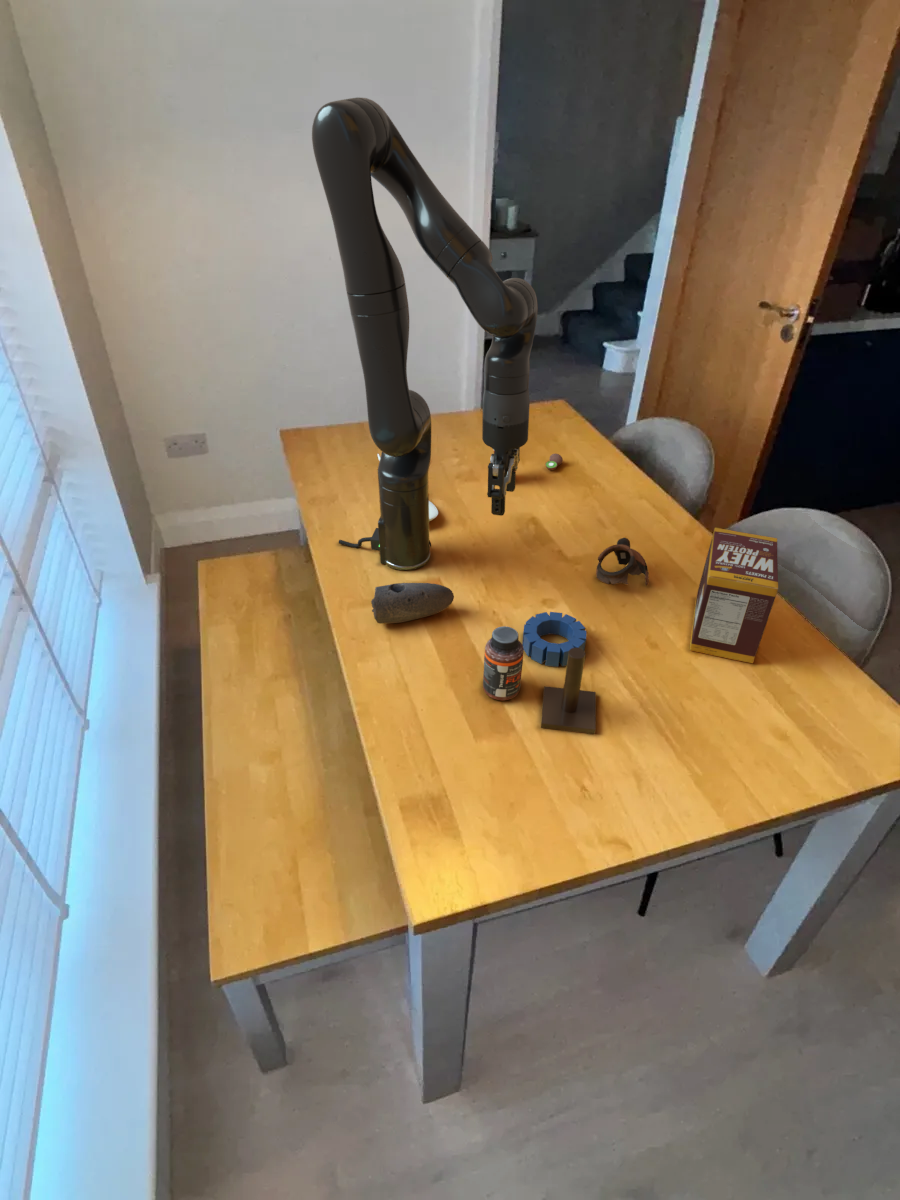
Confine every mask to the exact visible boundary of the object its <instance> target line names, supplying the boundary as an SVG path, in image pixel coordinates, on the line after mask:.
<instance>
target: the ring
mask: <svg viewBox="0 0 900 1200" xmlns="http://www.w3.org/2000/svg"><path fill="white" fill-rule="evenodd" d="M547 635H558V636H561V637H563V638H565V639H566V640H567V641H564V642H560V643H557V642H549V641H547V640H544V639H543V638H541V637H542V636H547ZM521 644H522V645H523V649H524V653H525V654H526V656H527V657H530V659H531V660H532V661H534V662H536V663H537V664H541V665H543V664H544V663H545V667H556V668H559V665H560V666H561V667H567V660H568V653H569V650H570V649H572V648H581V649H583V650H584V651H585V650H586V644H587V630H586V626H585V625H583V623H582V622H581V620H577V618H576V617H573V616H571V615H569V614H566V613H565V614H564V615H563V612H556V611H550V612H549V613H548V612H547V611H544V612H541V613H537V614H535V615H534V616H533V615H532V616H531V617H530V618H528V619H527V620H526V621H525V623H524V624H523V632H522V642H521ZM585 652H586V651H585Z"/></svg>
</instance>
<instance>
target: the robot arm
mask: <svg viewBox="0 0 900 1200" xmlns="http://www.w3.org/2000/svg"><path fill="white" fill-rule="evenodd" d="M312 121H313V122H312V126H311V143H312V150H313V154H314V159H315V163H316V167H317V171H318V173H319V177H320V180H321V184H322V187H323V190H324V194H325V198H326V201H327V205H328V207H329V212H330V214H331V221H332V223H333V229H334V232H335V238H336V243H337V249H338V252H339V257H340V262H341V267H342V273H343V279H344V284H345V291H346V296H347V302H348V307H349V312H350V317H351V321H352V325H353V329H354V334H355V335H354V336H355V339H356V345H357V350H358V356H359V359H360V364H361V368H362V374H363V380H364V387H365V399H366V409H367V410H366V412H367V422H368V431H369V434H370V437H371V439H372V441H373V443H374V445H375V446H376V447H377V449H378V450H379V451H380V452H381V454H380V457H381V458H380V461H379V462H378V466H377V480H378V481H377V482H378V498H379V509H380V510H379V512H380V516H379V518H378V520H377V527H375V529H374V531H373V533H372V536H367V537H366V536H365V537H362V538H359V539H358V541H357V543H352V542H349V541H346V540H343V539H338V544H340V545H343V546H346V547H348V548H352V549H353V548H354V549H358V548H361V547H362V545H363V543H366V542H370V550H371V551H379V559H380V564H383V565H386V566H388V567H389V568H391V569H393V570H397V571H398V570H399V571H413V570H416V569H417V570H418V569H419V568H422V567H424V566H426V565H427V564H428V563H429V561H430V560H431V548H432V542H431V540H430V521H429V501H430V500H429V499H430V497H429V495H430V494H429V492H430V491H429V471H430V465H431V461H432V413H431V411H430V408H429V405H428V403H427V401H426V399H425V398H424V397H423V396H422V395H421V394H420V393H418V392H417V391H414V390H412V389H410V388H409V382H408V371H407V367H408V366H407V363H408V350H409V340H410V308H409V301H408V294H407V293H408V292H407V285H406V280H405V275H404V271H403V268H402V264H401V262H400V260H399V257H398V255H397V254H396V251H395V250H394V248H393V246H392V244H391V243H390V240H389V239H388V237H387V235H386V233H385V231H384V229H383V227H382V225H381V222H380V219H379V216H378V213H377V208H376V203H375V196H374V190H373V189H374V188H373V182H372V178H373V179H374V180H375V181H376V182H377V183H379V185H380V186H382V187H383V188H384V189H386V191H388V193H389V194H390V195H391V196H392V198H393V199H394V200H395V201H396V203H397V204H398V207H400V209H401V210H402V213H403V214H404V217H405V218H406V220H407V222H408V224H409V226H410V228H411V229H410V230H412V234H413V235H414V238H415V239H416V241H417V243H418V244H419V245H420V247H421V249H422V250H423V252H424V253H425V254H426V256H427V257H428V259H430V261H431V262H432V263H433V264H434V265H435V266H436V267H437V268H438V270H439V271H440V272H441V273H442V275H444V276H445V277H446V278H447V279H448V281H450V282H451V283H452V284H453V285H454V286H455V288H456V290H457V292H458V293H459V296H460V297H461V300H462V301H463V303H464V304H465V306H466V308H467V309H468V311H469V312H470V314H471V316H472V317H473V319H474V320H475V322H476V323H477V324H478V326H480V328H481V329H482V330H484V331H485V332H486V333H487V334H489V335H490V336H492V337H491V338H492V339H491V344H490V346H489V349H488V350H487V352H486V353H485V358H484V365H483V367H484V368H483V369H484V371H483V372H484V373H483V375H484V376H483V378H484V380H483V381H484V382H483V395H482V415H481V417H482V420H481V421H482V424H481V425H482V429H481V432H482V437H481V438H482V442H483V444H484V445H486V446H487V447H490V448H491V449H492V450H493V449H494V450H493V453H491V454H490V462H489V463H488V465H487V493H486V496H487V498H489V499H491V506H490V507H491V511H490V512H491V514H492V515H494V516H500V517H502V516H504V515H505V513H506V495H507V492H511V493H513V492H515V491H516V490H515V489H516V473H517V472H518V468H519V466H518V465H519V464H520V461H521V459H520V457H521V456H520V454H521V453H520V452H521V451H520V450H521V447H523V446H525V445H526V444H527V443H528V441H529V426H530V424H529V423H530V422H529V421H530V399H531V398H530V368H531V367H530V359H531V358H530V357H531V351H532V347H533V342H534V338H535V333H536V327H537V320H538V310H539V309H538V307H539V306H538V298H537V294H536V291H535V289H534V287H533V286H532V285H531V284H530V283H529V281H527V280H526V279H523V278H520V277H511V278H508V279H505V280H502V279H501V278H500V276H499V275H498V273H497V271H496V270H495V269H494V267H493V265H492V263H493V253H492V252H491V250H490V249H489V247H488V246H487V244H485V242H484V241H483V240H482V239H481V238H480V237H479V236H478V235H477V233H476V232H475V231H474V230H473V229H472V228H471V227H470V225H469V224H468V223H467V222H466V221H465V220H464V219H463V217H461V215H459V213H458V212H457V211H456V210H455V209H454V207H453V206H452V205H451V204H450V202H449V201H448V200H447V199H446V198H445V197H444V195H443V194H442V192H441V191H440V190H439V189H438V187H437V186H436V185H435V183H434V182H433V180H432V179H431V178H430V176H429V175H428V174H427V172H426V171H425V169H424V168H423V167H422V165H421V163H420V162H419V160H418V159H417V157H416V156H415V155H414V153H413V152H412V150H411V149H410V147H409V146H408V144H407V143H406V141H405V139H404V138H403V136H402V134H401V133H400V131H399V130H398V128H397V127H396V125H395V124H394V122H393V120H392V119H391V118H390V116H389V115H388V113H387V112H386V111H385V110H384V109H383V107H381V105H380V104H379V103H377V102H376V101H375V100H373V99H370V98H368V97H360V96H359V97H358V96H357V97H352V98H351V97H350V98H344V99H337V100H334V101H330V102H327V103H325V104H323V105H322V106H321V107H320V108H319V109H317V111H316V114H315V115H314V118H313V120H312ZM514 471H515V472H514ZM496 486H497V487H499V488H496Z"/></svg>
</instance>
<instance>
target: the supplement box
mask: <svg viewBox="0 0 900 1200" xmlns="http://www.w3.org/2000/svg"><path fill="white" fill-rule="evenodd" d="M778 566H779V565H778V538H777V537H772V536H765V535H759V534H755V533H747V532H743V531H738V530H737V531H736V530H730V529H726V528H720V527H714V529H713V533H712V537H711V539H710V543H709V548H708V551H707V555H706V559H705V562H704V567H703V570H702V572H701V573H702V574H701V577H700V581H699V584H698V588H697V592H696V597H695V602H694V607H693V609H694V610H693V617H692V625H691V632H690V641H689V642H690V643H689V651H691V652H697V653H701V654H702V653H703V654H706V655H710V656H714V657H720V658H725V659H729V660H734V661H739V662H743V663H748V664H754V661H755V658H756V655H757V653H758V649H759V647H760V644H761V641H762V638H763V635H764V633H765V630H766V627H767V624H768V620H769V617H770V616H771V615H770V614H771V612H772V608H773V606H774V602H775V600H776V598H777V595H778V591H779V572H778V571H779V567H778Z"/></svg>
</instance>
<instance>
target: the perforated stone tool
mask: <svg viewBox="0 0 900 1200" xmlns="http://www.w3.org/2000/svg"><path fill="white" fill-rule="evenodd" d="M454 598H455V596H454V592H453V591H452V589H450V588H449V587H447V586H444V585H442V584H438V583H431V582H398V583H391V584H385V585H380V586H375V589H374V596H373V598H372V599H371V601H370V602H371V607H372V609H371V613H373V618H374V620H375V622H376V623H377V624H401V623H405V622H409V621H413V620H420V619H423V618H426V617H429V616H433V615H436V614H438V613H441V612H442V611H444V610H446V609H447V608H449V606H451V605H452V604H453V602H454V600H455V599H454Z"/></svg>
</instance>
